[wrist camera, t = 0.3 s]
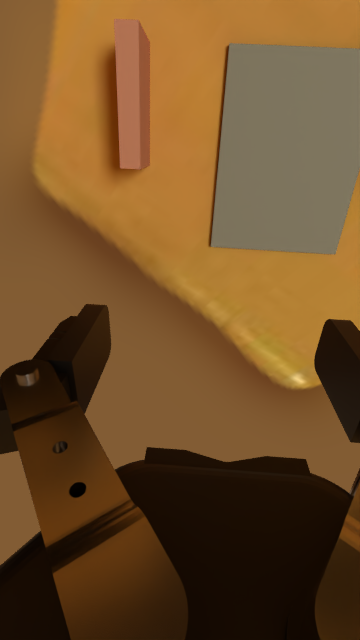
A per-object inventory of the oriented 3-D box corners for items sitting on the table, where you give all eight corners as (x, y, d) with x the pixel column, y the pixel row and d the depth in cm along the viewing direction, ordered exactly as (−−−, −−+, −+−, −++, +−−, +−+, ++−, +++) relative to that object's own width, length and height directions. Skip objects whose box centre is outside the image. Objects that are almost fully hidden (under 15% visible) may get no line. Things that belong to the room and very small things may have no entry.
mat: (229, 45, 29) (229, 43, 28) (389, 52, 28) (392, 50, 28) (210, 245, 37) (210, 246, 37) (333, 252, 37) (335, 254, 36)
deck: (129, 41, 29) (114, 19, 24) (149, 42, 29) (138, 20, 24) (132, 164, 34) (120, 168, 29) (149, 165, 34) (140, 169, 29)
